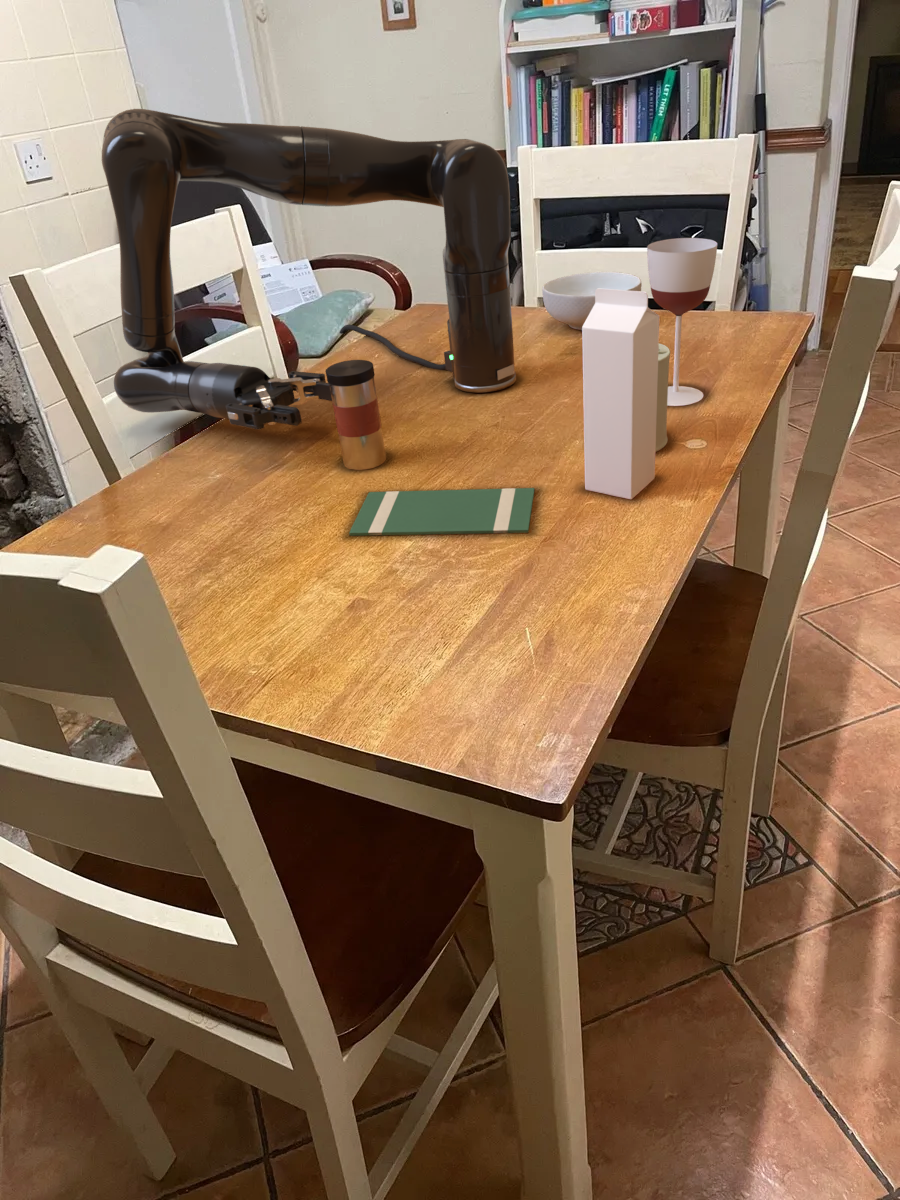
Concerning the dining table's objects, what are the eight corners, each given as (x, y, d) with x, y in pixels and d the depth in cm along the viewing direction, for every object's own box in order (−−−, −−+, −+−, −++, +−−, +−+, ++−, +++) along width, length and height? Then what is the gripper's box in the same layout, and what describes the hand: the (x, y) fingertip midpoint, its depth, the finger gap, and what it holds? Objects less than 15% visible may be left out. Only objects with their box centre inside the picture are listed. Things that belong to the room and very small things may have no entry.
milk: (609, 470, 105) (608, 280, 93) (655, 479, 101) (661, 283, 89) (583, 490, 101) (580, 295, 89) (631, 500, 97) (634, 299, 85)
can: (667, 456, 106) (671, 359, 99) (591, 457, 108) (589, 362, 101) (667, 426, 113) (670, 334, 107) (595, 427, 115) (594, 337, 109)
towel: (369, 494, 105) (368, 491, 105) (534, 490, 102) (534, 487, 102) (349, 535, 97) (348, 532, 97) (528, 533, 94) (528, 529, 94)
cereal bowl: (659, 316, 153) (660, 274, 149) (605, 344, 144) (604, 300, 140) (580, 305, 163) (579, 266, 160) (524, 331, 154) (522, 290, 150)
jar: (334, 460, 115) (317, 368, 108) (373, 447, 117) (359, 356, 111) (355, 474, 111) (338, 379, 104) (395, 460, 113) (381, 366, 106)
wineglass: (696, 409, 117) (705, 253, 106) (635, 402, 121) (637, 251, 110) (715, 388, 122) (725, 238, 111) (655, 382, 127) (660, 237, 116)
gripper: (185, 383, 114) (278, 396, 106) (259, 349, 124) (348, 358, 116) (200, 436, 118) (290, 453, 110) (270, 399, 128) (357, 412, 120)
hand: (320, 404), depth 113 cm, fingers open, 8 cm apart
